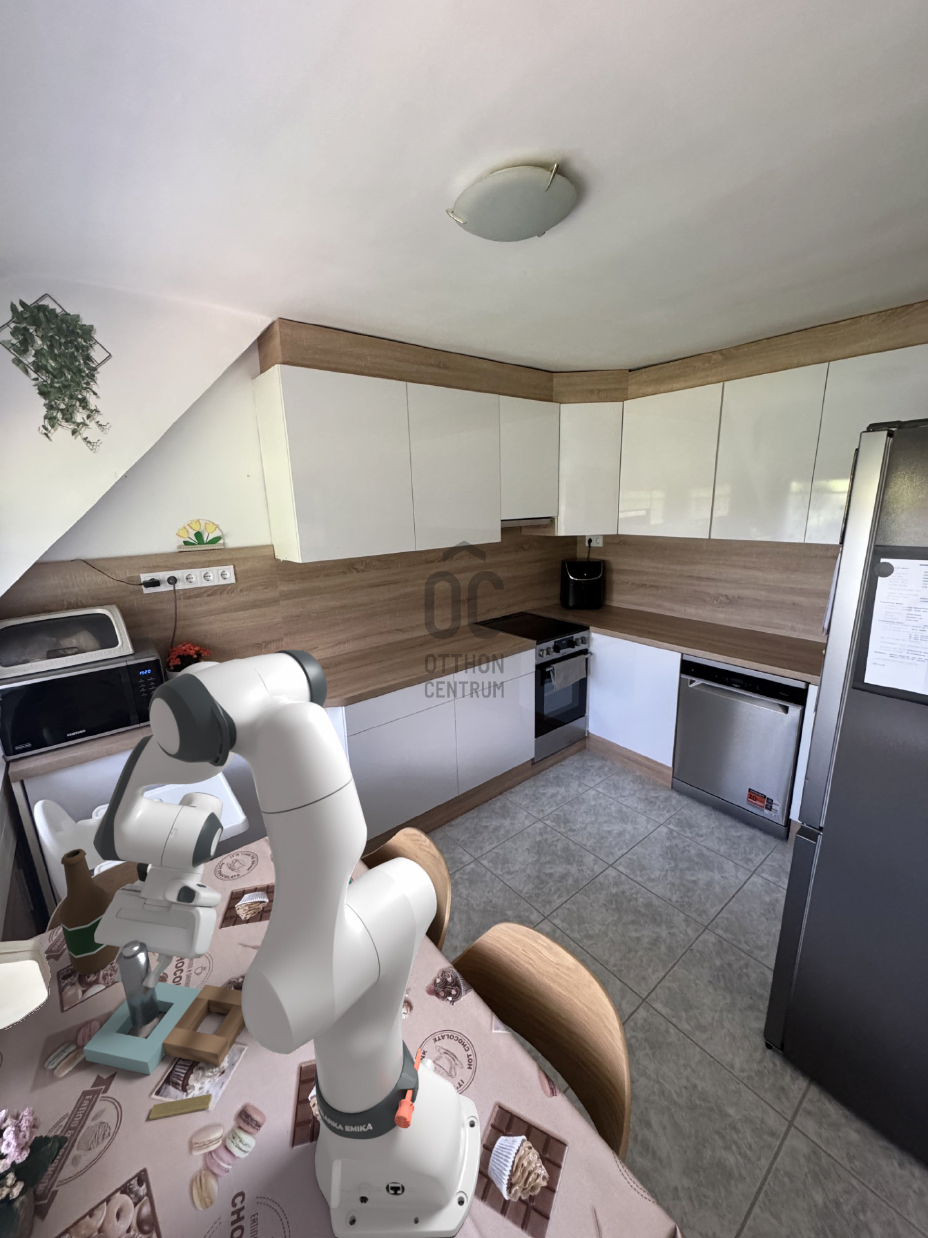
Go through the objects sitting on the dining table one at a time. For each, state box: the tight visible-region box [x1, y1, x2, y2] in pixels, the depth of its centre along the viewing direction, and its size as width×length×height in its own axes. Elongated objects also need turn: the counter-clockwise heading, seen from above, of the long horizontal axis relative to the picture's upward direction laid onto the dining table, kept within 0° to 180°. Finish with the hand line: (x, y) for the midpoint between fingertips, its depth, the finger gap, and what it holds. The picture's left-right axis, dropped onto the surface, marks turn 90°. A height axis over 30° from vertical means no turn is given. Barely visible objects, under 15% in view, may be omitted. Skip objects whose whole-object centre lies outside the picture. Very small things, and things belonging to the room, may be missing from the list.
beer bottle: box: [59, 848, 120, 977], centre depth 95 cm, size 8×8×24 cm
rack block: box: [83, 981, 202, 1076], centre depth 84 cm, size 12×12×2 cm
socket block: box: [163, 984, 246, 1067], centre depth 83 cm, size 10×10×2 cm
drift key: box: [149, 1093, 213, 1121], centre depth 73 cm, size 8×2×1 cm, turn 99°
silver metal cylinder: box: [116, 940, 160, 1029], centre depth 82 cm, size 4×4×14 cm
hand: (134, 984), depth 81 cm, fingers closed on silver metal cylinder, 4 cm apart
